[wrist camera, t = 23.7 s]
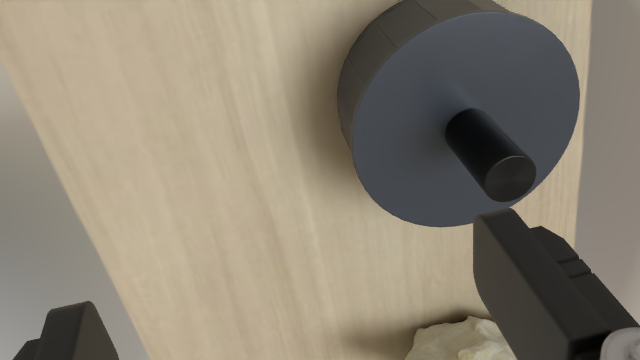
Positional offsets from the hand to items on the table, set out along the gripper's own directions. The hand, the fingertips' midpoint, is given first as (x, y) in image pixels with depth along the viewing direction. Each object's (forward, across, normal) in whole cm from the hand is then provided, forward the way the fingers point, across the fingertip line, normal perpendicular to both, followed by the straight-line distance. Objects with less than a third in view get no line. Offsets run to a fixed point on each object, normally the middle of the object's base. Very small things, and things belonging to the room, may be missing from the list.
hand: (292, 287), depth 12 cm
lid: (+22, -12, +10) cm, 27 cm away
